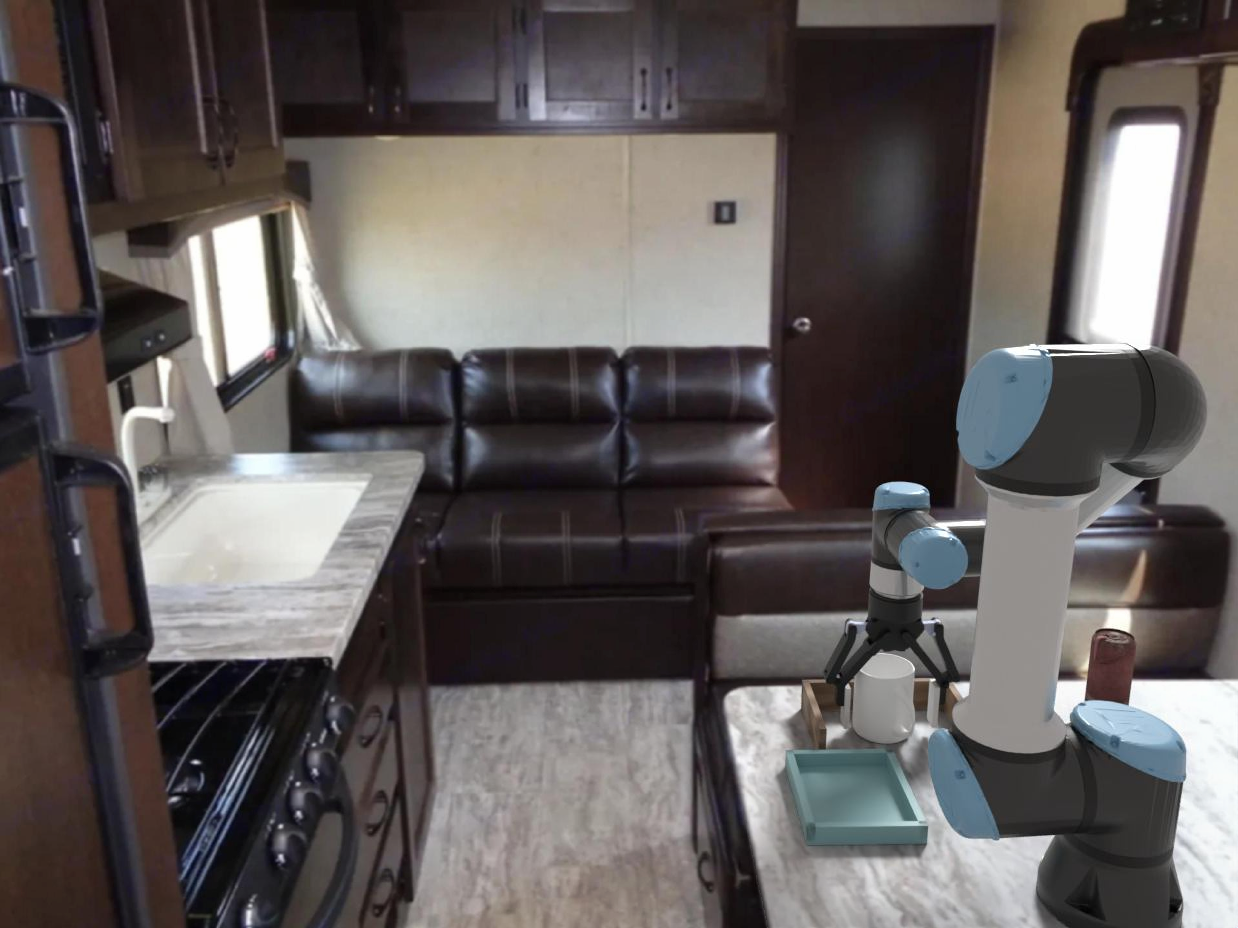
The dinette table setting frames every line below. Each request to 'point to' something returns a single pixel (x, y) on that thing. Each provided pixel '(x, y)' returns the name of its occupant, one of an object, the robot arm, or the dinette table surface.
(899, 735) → the mug
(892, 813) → the tray
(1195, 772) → the dinette table surface
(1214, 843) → the dinette table surface
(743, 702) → the dinette table surface
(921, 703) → the bay
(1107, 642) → the can
